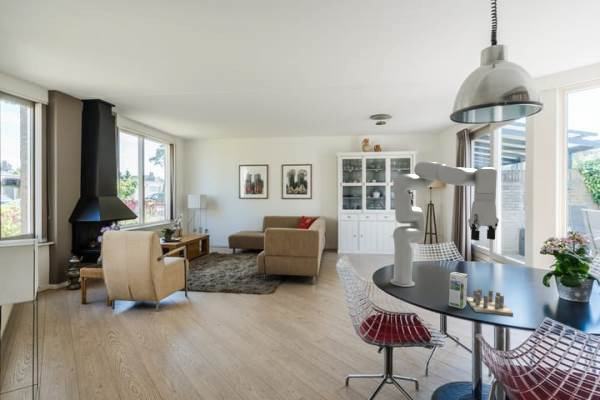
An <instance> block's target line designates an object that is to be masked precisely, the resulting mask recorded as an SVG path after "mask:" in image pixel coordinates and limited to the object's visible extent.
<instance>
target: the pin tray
mask: <svg viewBox="0 0 600 400" xmlns="http://www.w3.org/2000/svg"><path fill="white" fill-rule="evenodd" d="M472 293H473V295H472V296H473V297H472V296H467V298H466V302H468V304H469V305H470V307H471V308H472V309H473V311H474V312H478V313H485V314H492V313H494V315H500V316H501V315H502V316H507V317H513V316H514V313H513V311H512V310H511V309H510V308H509V307H508V306H506V304H504V303H505V301H504V300H505V296H504V295H501V292H499V291H497V292H495V296H494V295H493V294H494V291H493V290H491V289H489V290H488V295H487V294H484V295H482V293H483V290H482V289H481V288H478V289H473V292H472ZM482 296H483V298H482ZM493 296H494V297H495V298H494V299H493Z"/></svg>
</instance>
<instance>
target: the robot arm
mask: <svg viewBox="0 0 600 400" xmlns="http://www.w3.org/2000/svg"><path fill="white" fill-rule="evenodd" d="M413 172H414V174H413V173H412V174H411V173H403V174H399V175H398V176H396V177H395V178H394V180H393V183H392V190H393V197H394V212H395V220H396V222H397V223H399V224H403V225H401V226H398V227H396V228H394V230H393V234H392V237H393V243H394V254H393V255H394V256H393V257H394V259H393V260H394V261H393V278H391V279H390V283H391V284H392V285H394V286H398V287H404V288H411V287H414V286H415V285H416V284H415V281H413V260H414V258H413V256H414V255H413V254H414V252H413V249H412V246H411V244H419V243H422V242H423V241H424V240H425V235H426V233H425V232H426V231H425V215H424V212H423V210H422V209H421V208H420V207H419V206H412V198H411V195H410V193H409V192H408V191H423V190H426V189H427V188H429V186H431V185H432V184H433V183H435V182H440V183H443V184H449V185H453V186H464V187H474V193H473V194H474V197H473V201H472V204H471V208H470V209H471V210H470V218H468V219H467V222H468V225H469V228H470V230H471V231H470V233H471V234H470V240H471V241H477V242H479V241H480V233H481V232H480V231H481V230H480V228H481V227H487V229H486V239H487V240H492V241H494V240H496V230H497V227H498V225H499V221H500V219H499V218H498V217H497V205H496V200H497V199H496V197H497V177H498V176H497V175H498V171H497V169H496V168H494V167H480V168H470V167H469V168H466V167H456V166H448V164H445V163H440V162H437V161H436V162H435V161H434V162H433V161H425V160H424V161H419V162H417V163H416V164H415V166H414V168H413ZM404 224H405V225H404ZM406 224H409V225H406Z"/></svg>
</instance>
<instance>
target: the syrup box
mask: <svg viewBox="0 0 600 400" xmlns="http://www.w3.org/2000/svg"><path fill="white" fill-rule="evenodd" d="M467 290H468V273H460V272H456V271H452V272H451V273H450V274H449V294H448V295H449V299H448V306H449V307H454V308H457V309H460V310H463V309H464V308H465V307H466V306H467V300H466V298H467V297H468V296H467V295H468V293H467Z"/></svg>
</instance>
